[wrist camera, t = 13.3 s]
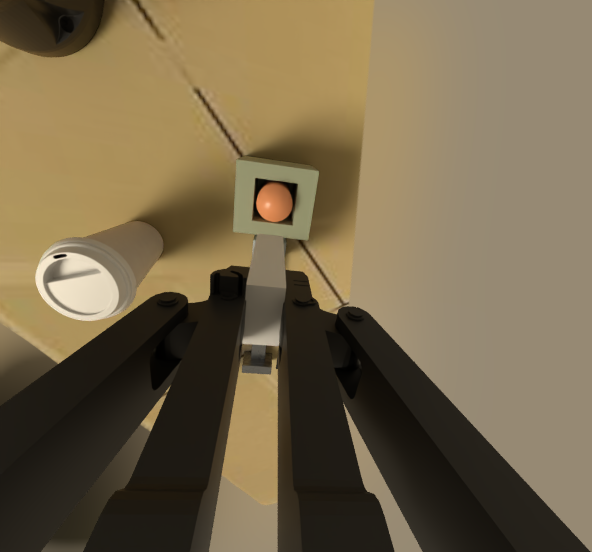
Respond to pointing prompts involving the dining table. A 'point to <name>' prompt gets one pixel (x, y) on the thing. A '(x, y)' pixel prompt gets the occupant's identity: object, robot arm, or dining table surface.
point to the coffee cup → (98, 270)
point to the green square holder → (248, 187)
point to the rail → (257, 360)
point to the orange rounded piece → (274, 201)
